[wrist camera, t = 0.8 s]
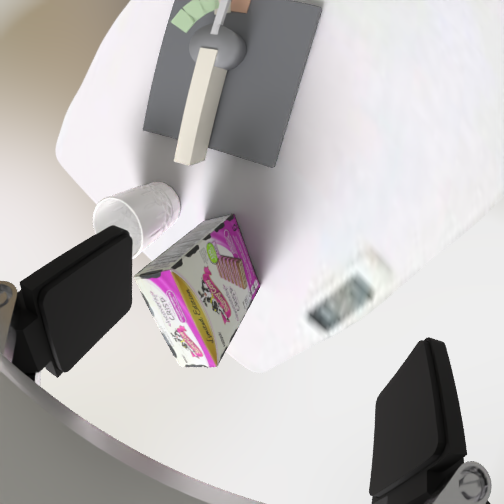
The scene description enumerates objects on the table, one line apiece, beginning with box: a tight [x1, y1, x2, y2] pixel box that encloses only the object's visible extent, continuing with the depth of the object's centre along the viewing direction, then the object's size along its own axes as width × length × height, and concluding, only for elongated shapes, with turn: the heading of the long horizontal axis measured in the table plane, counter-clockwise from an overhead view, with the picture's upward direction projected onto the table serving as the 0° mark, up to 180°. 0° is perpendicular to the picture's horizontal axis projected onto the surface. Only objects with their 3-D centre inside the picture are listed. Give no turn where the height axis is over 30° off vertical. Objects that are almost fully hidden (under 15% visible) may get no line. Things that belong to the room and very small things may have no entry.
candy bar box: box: [134, 214, 260, 368], centre depth 35 cm, size 11×5×16 cm, turn 20°
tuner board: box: [143, 0, 322, 168], centre depth 32 cm, size 20×18×1 cm
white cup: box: [93, 182, 181, 259], centre depth 38 cm, size 8×8×10 cm
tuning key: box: [174, 0, 246, 166], centre depth 29 cm, size 22×5×4 cm, turn 165°
